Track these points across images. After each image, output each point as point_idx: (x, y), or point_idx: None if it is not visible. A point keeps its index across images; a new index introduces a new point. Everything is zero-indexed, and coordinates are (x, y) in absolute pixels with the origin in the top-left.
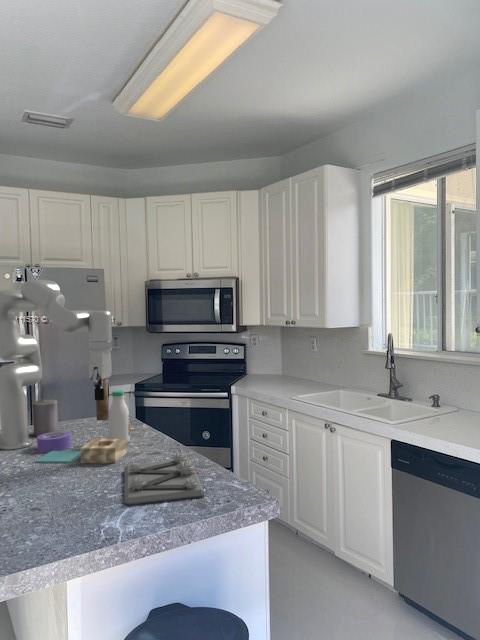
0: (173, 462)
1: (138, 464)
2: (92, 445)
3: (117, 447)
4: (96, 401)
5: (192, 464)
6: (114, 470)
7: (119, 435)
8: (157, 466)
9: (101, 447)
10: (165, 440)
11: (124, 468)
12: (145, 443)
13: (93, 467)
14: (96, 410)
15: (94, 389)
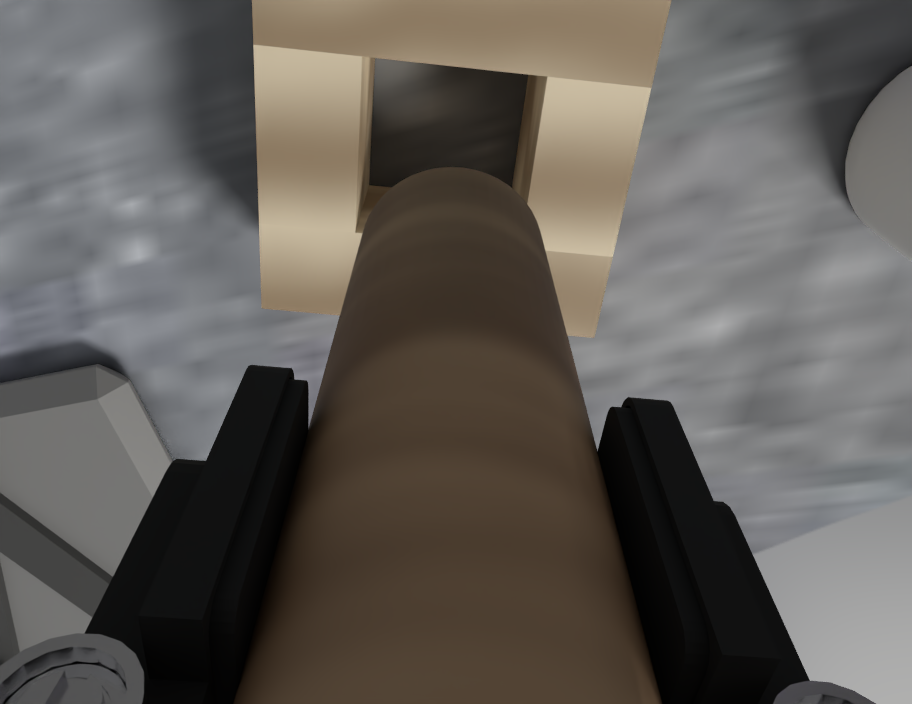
0: None
1: (112, 462)
2: (368, 44)
3: (331, 309)
4: (369, 338)
5: None
6: (113, 283)
7: (885, 200)
8: (59, 575)
9: (287, 172)
10: (850, 492)
11: (82, 370)
12: (816, 372)
13: (164, 93)
14: (398, 237)
15: (152, 586)
